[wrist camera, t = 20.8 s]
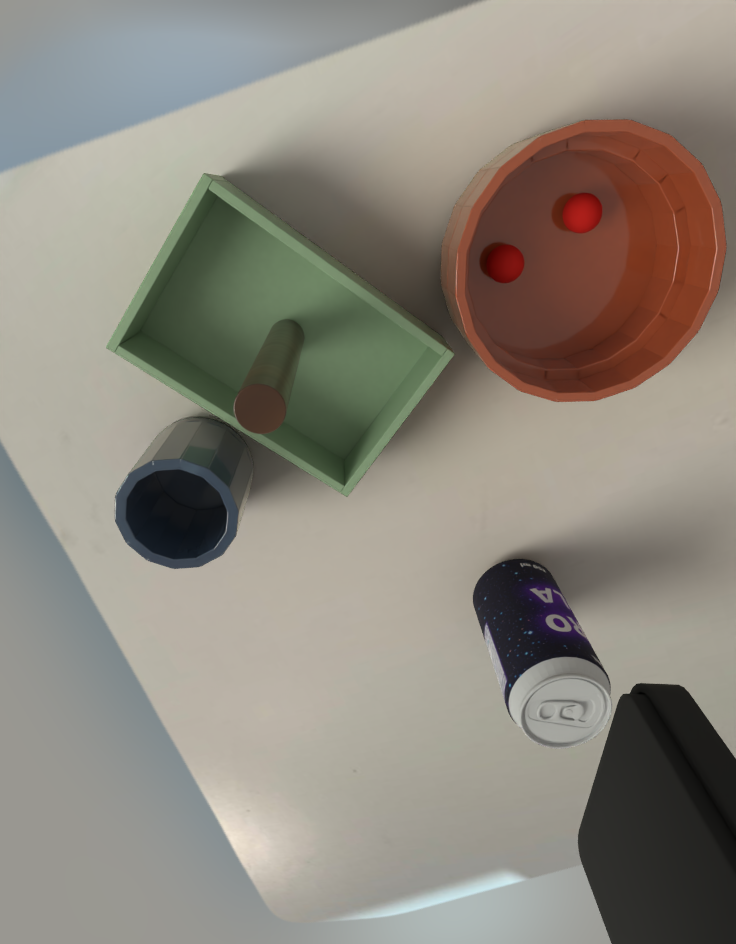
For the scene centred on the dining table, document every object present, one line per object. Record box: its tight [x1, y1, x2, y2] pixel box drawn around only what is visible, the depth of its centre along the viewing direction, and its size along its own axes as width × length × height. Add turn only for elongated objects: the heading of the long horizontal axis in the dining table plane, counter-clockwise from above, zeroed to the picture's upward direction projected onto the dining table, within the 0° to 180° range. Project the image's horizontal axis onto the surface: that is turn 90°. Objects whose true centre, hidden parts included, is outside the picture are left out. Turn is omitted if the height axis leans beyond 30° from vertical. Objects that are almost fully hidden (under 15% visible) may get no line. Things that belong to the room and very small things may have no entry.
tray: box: [106, 173, 455, 497], centre depth 36 cm, size 15×10×4 cm, turn 55°
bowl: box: [441, 119, 727, 402], centre depth 35 cm, size 13×13×6 cm
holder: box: [115, 418, 253, 569], centre depth 38 cm, size 6×6×7 cm
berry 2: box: [562, 193, 602, 233], centre depth 35 cm, size 2×2×2 cm
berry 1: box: [486, 244, 524, 283], centre depth 36 cm, size 2×2×2 cm
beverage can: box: [473, 559, 612, 748], centre depth 40 cm, size 6×6×12 cm
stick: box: [233, 319, 305, 434], centre depth 32 cm, size 2×2×14 cm
